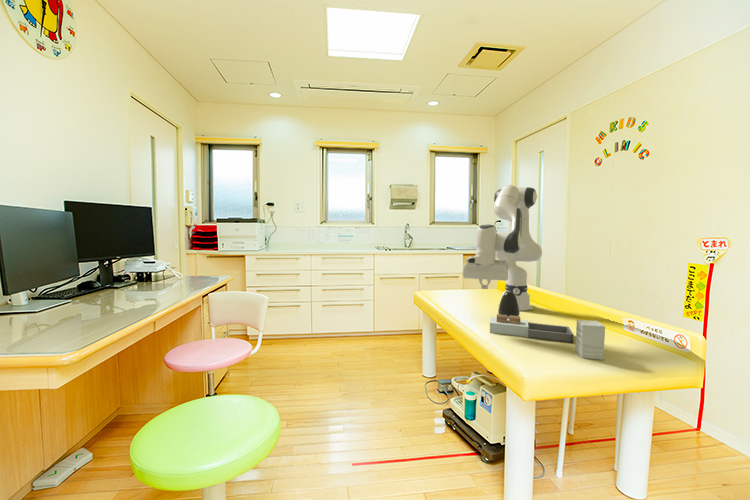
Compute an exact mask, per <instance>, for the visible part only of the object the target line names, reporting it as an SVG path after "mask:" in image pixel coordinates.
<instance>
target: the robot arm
mask: <svg viewBox="0 0 750 500" xmlns="http://www.w3.org/2000/svg"><path fill="white" fill-rule="evenodd" d="M537 198H538V194H537V191H536V189H535V188H533V187H529V186H528V187H523V186H522V187H520V186H519V187H517V186H515V185H513V184H508V185H505V186H503V187H501V189H497V190H496V191H495V193H494V197H493V201H494V204H493V211H494V214H495V215H496V216H497V217H498V218H499V219H501V220H505V221H507V231H496V225H493V224H482V225H479V226H478V227H477V231H476V238H475V245H476V250H475V255H473V256H470V257H469V256H468V257H466V259H465V264H464V266H463V270H462V277H463V278H464V279H472V280H474V279H475V280H478V282H479V283H480V286H481V288H480V289H482V290H483V289H484V290H488V289H489V285H490V283H491V281H503V282H504V281H505V282H506V283H505V291H503V292H502V295H501V297H502V296H503V295H504V293H505V292H506V291H507V292H508V291H510V292H513V293H514V294H515V296H516V298H517V301H518V305H519V312H520V311H529V310H530V311H532V310H533V309H534V307H533V306H531V304H530V303H531V296H530V294H529V293H528V283H527V282H528V273H527V270H525V269H524V268H523V267H521V266H519V265H517V262H527V263H528V262H529V263H531V262H537V261H539V260H540V259H541V257H542V256H543V249H542V247H541V246H540V244H538V243H537V242H536V241H535V240H534V239H533V238H532V236H531V233H530V210H529V209H530V208H531V207H533V206H534V205H535V204H536V202H537ZM483 280H487V283H486V284H483Z"/></svg>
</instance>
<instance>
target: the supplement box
mask: <svg viewBox="0 0 750 500" xmlns="http://www.w3.org/2000/svg"><path fill="white" fill-rule="evenodd" d="M575 328H576V333H575V352H576V353H577V354H578V356H579V357H580V358H581V359H587V360H588V359H589V360H598V361H599V360H602V361H604V360H605V359H604V355H605V339H606V338H605V337H606V336H605V335H606V326H605V325H603V323H601V322H599V321H598V320H588V319H586V320H584V319H576V327H575Z"/></svg>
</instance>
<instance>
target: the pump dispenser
mask: <svg viewBox="0 0 750 500" xmlns="http://www.w3.org/2000/svg"><path fill="white" fill-rule="evenodd" d="M505 291H506V290H505ZM505 291H504V292H505ZM504 292H503V293H504ZM497 311H498V312H497V314H501V315H507V319H509V317H510V315H511V316H520V311H519V305H518V301H517V298H516V296H515V294H514V293H513V292H510V291H508V292H507V291H506V292H505V293H504V295H503V296H502V295H501V298H500V301H499V304H498V310H497Z"/></svg>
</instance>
